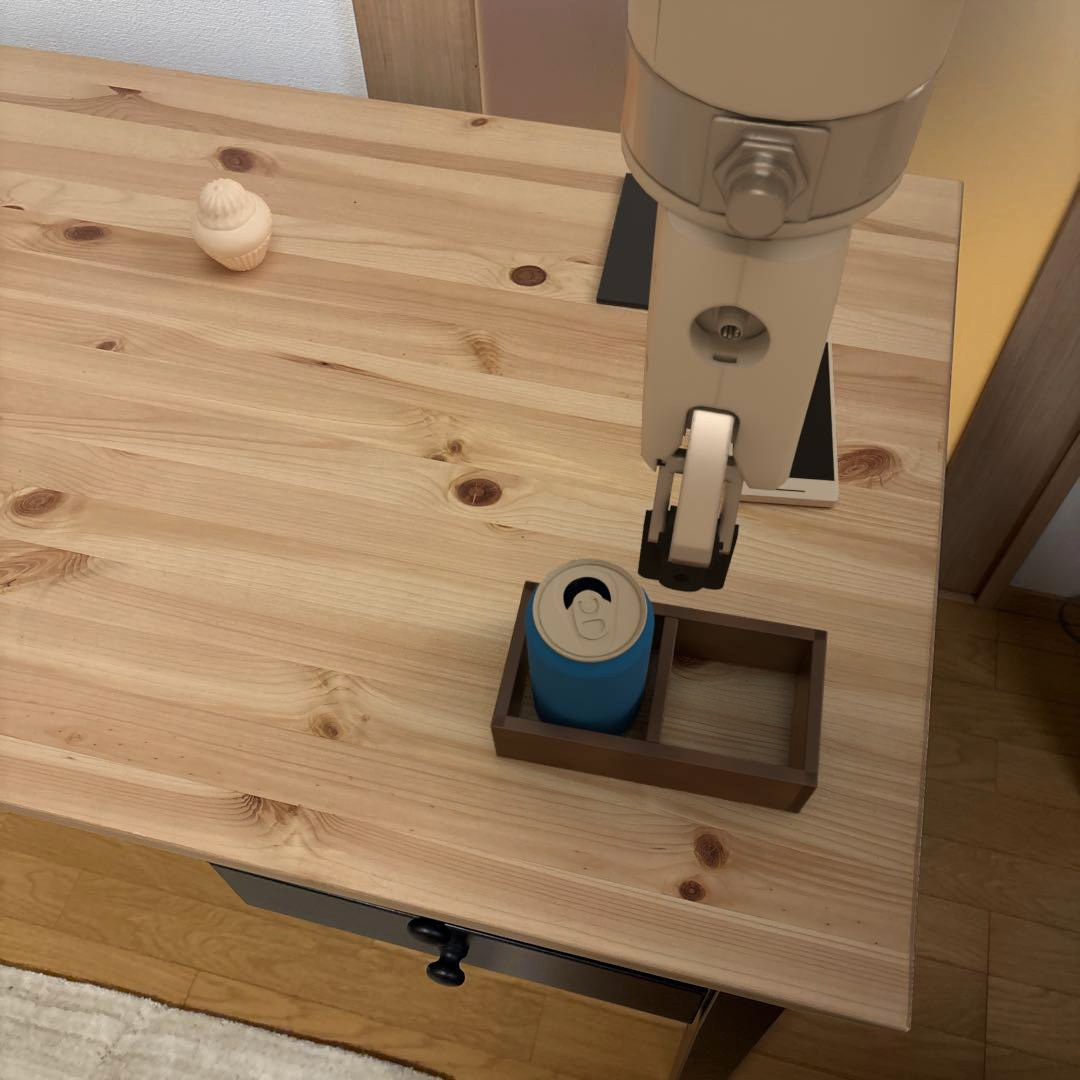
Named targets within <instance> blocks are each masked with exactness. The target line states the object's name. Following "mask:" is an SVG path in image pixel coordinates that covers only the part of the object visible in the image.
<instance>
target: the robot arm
mask: <svg viewBox="0 0 1080 1080" xmlns="http://www.w3.org/2000/svg"><path fill="white" fill-rule="evenodd" d="M965 2H966V0H627V14H626V30H625V31H626V33H625V52H624V68H623V69H624V70H623V85H622V86H623V87H622V88H623V89H622V104H621V105H622V109H621V116H620V117H621V118H620V119H621V120H620V146H621V147H620V148H621V153H622V155H623V158H624V162H625V164H626V166H627V169H628V170H629V173H632V175H633V177H634V179H635V180H636V181H637V182H638V183H639V184H640V186H641V187H642V188H643V189H644V190H645V192H646V193H648V194H649V195H650V196H651V197H652V198H653V199H655V200H656V201H657V202H658V208H657V218H656V228H655V239H654V250H653V262H652V273H651V284H650V296H649V308H648V309H647V322H646V337H645V351H644V367H643V385H642V386H643V387H642V405H641V429H640V430H641V431H640V433H641V434H640V456H641V458H642V459H643V461H644V462H645V464H646V465H647V466H648V468H649V469H650V470H652V471H653V473H654V472H655V473H656V472H657V468H658V475H657V480H656V485H655V486H656V487H655V492H654V498H653V505H652V509H645V513H644V519H643V524H642V525H643V526H642V535H641V542H640V550H639V557H638V566H637V574H638V576H640V577H641V578H643V579H647V580H652V581H658V583H659V584H660V585H661V586H662V587H664V588H666V589H668V590H673V591H677V592H678V591H679V592H685V593H696V592H699V591H700V590H702V589H706V590H712V591H719V590H722V589H723V588H724V586H725V582H726V579H727V576H728V572H729V568H730V565H731V563H732V559H733V556H734V555H733V554H734V551H735V548H736V545H737V540H738V538H739V530H740V524H737V523H736V522H737V518H738V512H739V511H738V510H739V508H740V507H739V506H740V502H741V501H740V497H741V492H742V486H743V481H745V483H746V484H747V486H748V487H749V488H752V489H762V490H773V491H774V490H775V489H777V488H779V487H780V486H781V485H783V484H784V483H785V482H786V481H787V479H788V478H789V475H790V471H791V467H792V463H793V460H794V456H795V452H796V448H797V445H798V441H799V437H800V433H801V430H802V426H803V423H804V419H805V416H806V412H807V408H808V405H809V401H810V398H811V394H812V391H813V387H814V384H815V380H816V377H817V373H818V370H819V366H820V362H821V359H822V355H823V351H824V348H825V344H826V340H827V336H828V332H829V328H830V326H831V324H832V320H833V317H834V312H835V309H836V304H837V300H838V296H839V292H840V288H841V284H842V279H843V275H844V270H845V265H846V261H847V255H848V251H849V246H850V241H851V237H852V232H853V228H854V224H855V223H856V222H857V223H858V222H859V221H861V220H863V219H865V218H866V217H867V216H870V215H871V214H872V213H874V212H875V211H877V210H878V209H879V208H880V207H882V206H883V205H884V203H886V202H887V201H888V200H889V199H890V198H891V197H892V195H893V194H895V193H894V192H896V190H897V188H898V187H899V186H900V184H901V182H902V180H903V178H904V174H905V172H906V169H907V166H908V163H909V161H910V158H911V156H912V153H913V150H914V148H915V145H916V142H917V139H918V136H919V133H920V130H921V128H922V125H923V122H924V119H925V117H926V113H927V110H928V108H929V105H930V102H931V99H932V97H933V93H934V91H935V88H936V85H937V82H938V80H939V77H940V74H941V71H942V68H943V66H944V64H945V63H944V62H945V59H946V56H947V52H948V49H949V45H950V44H951V41H952V38H953V35H954V32H955V30H956V26H957V24H958V22H959V18H960V16H961V13H962V10H963V8H964V5H965ZM687 429H688V430H689V435H688V441H687V447H686V448H683V447H681V446H682V444H683V439H684V437H686V435H687ZM731 436H732V437H731ZM730 442H731V443H734V447H733V456H730V455H728V454H729V448H730ZM675 474H677V475H682V477H681V482H680V488H679V495H678V500H677V505H674V504H670V503H671V496H672V490H673V486H674V485H673V484H674V478H675Z"/></svg>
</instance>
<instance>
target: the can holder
mask: <svg viewBox="0 0 1080 1080" xmlns="http://www.w3.org/2000/svg"><path fill="white" fill-rule="evenodd" d="M539 584H540V582H538V581H532V580H525V581H524V585H523V588H522V592H521V597H520V601H519V605H518V609H517V613H516V617H515V621H514V626H513V630H512V634H511V638H510V642H509V647H508V650H507V655H506V659H505V663H504V666H503V667H504V668H503V671H502V676H501V680H500V684H499V689H498V691H497V697H496V701H495V705H494V710H493V713H492V717H491V721H490V731H491V735H492V740H493V744H494V750H495V755H496V757H499V758H504V759H510V760H515V761H521V762H527V763H531V764H536V765H541V766H547V767H553V768H558V769H562V770H569V771H574V772H579V773H584V774H589V775H593V776H599V777H605V778H610V779H615V780H620V781H626V782H631V783H637V784H641V785H645V786H650V787H651V786H652V787H657V788H662V789H669V790H673V791H678V792H684V793H689V794H695V795H699V796H704V797H709V798H714V799H721V800H726V801H730V802H731V801H732V802H735V803H741V804H746V805H751V806H752V805H753V806H756V807H762V808H768V809H772V810H779V811H783V812H788V813H794V814H800V812H801V811H802V810H803V808H804V806H805V805H806V804H807V802H808V801H809V800H810V798H811V797H812V795H814V793H815V792H816V790H817V788H818V787H819V786H818V784H819V767H820V753H821V752H820V751H821V738H822V723H823V709H824V693H825V680H826V679H825V677H826V665H827V663H826V661H827V649H828V648H827V647H828V634H829V632H828V631H827V630H825V629H820V628H819V629H818V628H813V627H806V626H801V625H796V624H790V623H789V624H788V623H782V622H777V621H770V620H765V619H759V618H753V617H746V616H741V615H734V614H729V613H722V612H718V611H713V610H712V611H711V610H705V609H699V608H693V607H686V606H681V605H674V604H669V603H668V604H667V603H665V602H664V603H663V602H657V601H651V600H650V602H651V605H652V608H653V613H654V632H653V638H652V645H651V651H653V652H657V657H656V664H655V669H654V676H653V683H652V690H651V697H650V702H649V709H648V715H647V722H646V727H645V733H644V740H643V739H637V738H631V737H625V736H622V735H621V736H616V735H610V734H605V733H600V732H594V731H589V730H583V729H578V728H572V727H567V726H562V725H556V724H551V723H545V722H541V721H540V720H534V719H528V718H524V717H520V715H521V711H522V706H523V703H524V702H523V701H524V697H525V692H526V688H527V683H528V680H529V676H530V668H529V658H528V648H527V638H526V628H525V613H526V608H527V605H528V602H529V599H530V597H531V595H532V593H533V592H534V590H535V589H536V587H537V586H538V585H539ZM674 655H675V656H676V655H677V656H682V657H689V658H694V659H698V660H699V659H701V660H705V661H712V662H717V663H723V664H727V665H734V666H740V667H744V668H752V669H757V670H763V671H769V672H775V673H780V674H786V675H791V676H794V677H795V678H794V691H793V702H792V712H791V713H792V714H791V715H792V716H791V725H790V726H791V727H790V737H789V739H790V740H789V751H788V762H787V763H788V764H787V766H784V765H783V766H782V765H778V764H772V763H767V762H761V761H757V760H756V761H755V760H750V759H745V758H739V757H735V756H729V755H724V754H718V753H712V752H708V751H702V750H696V749H690V748H685V747H680V746H676V745H675V746H674V745H669V744H664V743H661V740H662V734H663V727H664V722H665V721H664V720H665V714H666V706H667V700H668V694H669V687H670V682H671V681H670V679H671V674H672V673H671V672H672V667H673V660H674Z"/></svg>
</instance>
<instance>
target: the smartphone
mask: <svg viewBox="0 0 1080 1080" xmlns="http://www.w3.org/2000/svg"><path fill="white" fill-rule="evenodd" d="M834 383H835V382H834V364H833V341H832V327H831V325H830V328H829V332H828V336H827V340H826V344H825V348H824V351H823V355H822V359H821V362H820V366H819V370H818V373H817V377H816V380H815V384H814V387H813V391H812V394H811V398H810V401H809V405H808V408H807V412H806V416H805V419H804V423H803V426H802V430H801V433H800V437H799V441H798V445H797V448H796V452H795V456H794V460H793V463H792V467H791V471H790V475H789V478H788V479H787V481H786V482H785V483H784V484H783V485H781V486H780V487H779V488H777V489H775V490H774V491H773V490H762V489H752V488H749V487H748V486H747V484H746V483H745V481H743V486H742V492H741V497H740V502H752V503H753V502H754V503H766V504H780V505H793V506H808V507H819V508H834V507H835V506H836V505H837V502H838V499H839V497H840V484H839V465H838V464H839V461H838V445H837V443H838V441H837V424H836V401H835V384H834ZM731 437H732V436H731ZM733 447H734V443H731V442H730V448H729V454H728V455H730V456H733Z"/></svg>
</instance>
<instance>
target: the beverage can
mask: <svg viewBox="0 0 1080 1080" xmlns="http://www.w3.org/2000/svg"><path fill="white" fill-rule="evenodd" d="M539 583H540V584H539V585H538V586H537V587H536V589H535V590H534V592H533V593H532V595H531V597H530V599H529V602H528V605H527V608H526V613H525V628H526V638H527V648H528V658H529V668H530V671H529V677H530V687H531V697H532V704H533V708H534V712H535V713H536V715H537V718H538V719H539V721H540V722H545V723H551V724H556V725H562V726H567V727H572V728H578V729H583V730H589V731H594V732H600V733H605V734H610V735H616V736H621V737H622V736H623V735H624V734H625V733H627V732H628V730H630V729H631V727H632V726H633V725H634V723H636V721H637V719H638V717H639V716H640V712H641V709H642V706H643V700H644V696H645V695H644V694H645V688H646V682H647V676H648V675H647V674H648V670H649V662H650V656H651V651H652V650H651V645H652V638H653V632H654V613H653V608H652V605H651V602H650V601H651V600H650V597H649V596H648V593H647V592H646V591H645V589H644V587H643V586H642V585H641V584H640V583H639V581H638V580H637V578H636V577H635V576H634V575H633V574H632V573H631V572H630V571H629V570H628V569H626V568H624V567H623V566H621V565H620V564H618V563H616V562H614V561H611V560H609V559H605V558H601V557H600V558H599V557H579V558H574V559H571V560H568V561H564V562H563V563H561V564H559V565H557V566H556V567H554V568H553V569H552V570H550V571H549V572H548V573H547V574H546V575H545V576H544V577H543V578H542V580H541V581H540V582H539Z"/></svg>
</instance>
